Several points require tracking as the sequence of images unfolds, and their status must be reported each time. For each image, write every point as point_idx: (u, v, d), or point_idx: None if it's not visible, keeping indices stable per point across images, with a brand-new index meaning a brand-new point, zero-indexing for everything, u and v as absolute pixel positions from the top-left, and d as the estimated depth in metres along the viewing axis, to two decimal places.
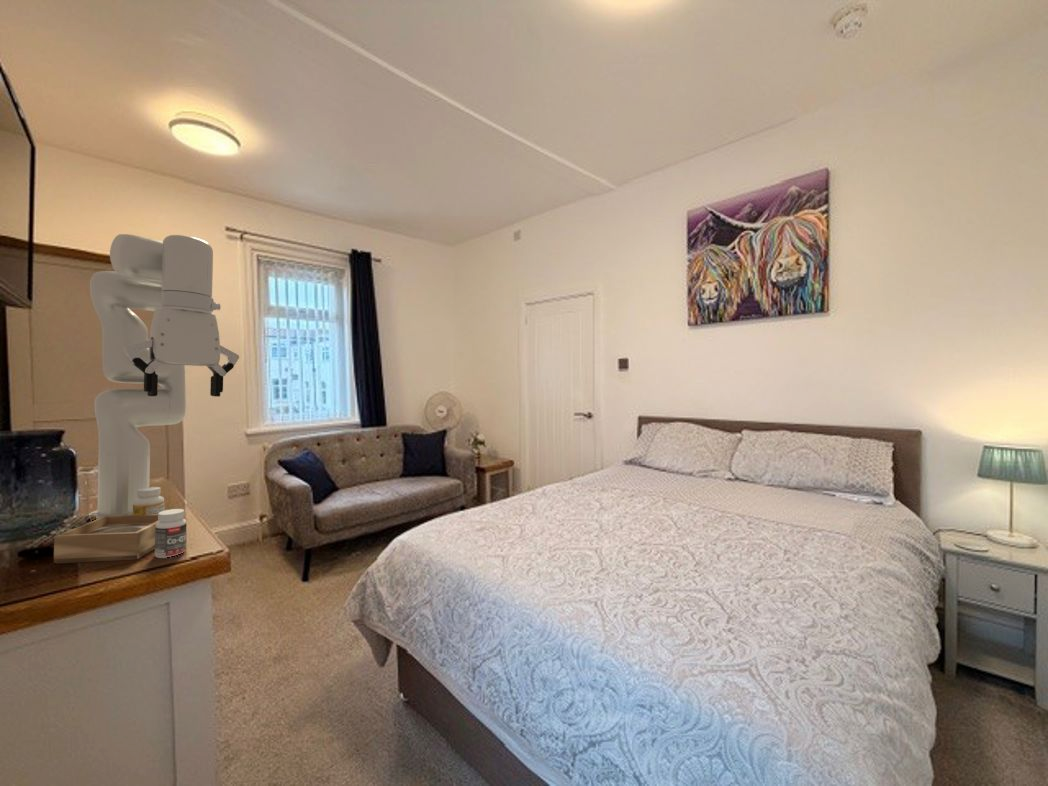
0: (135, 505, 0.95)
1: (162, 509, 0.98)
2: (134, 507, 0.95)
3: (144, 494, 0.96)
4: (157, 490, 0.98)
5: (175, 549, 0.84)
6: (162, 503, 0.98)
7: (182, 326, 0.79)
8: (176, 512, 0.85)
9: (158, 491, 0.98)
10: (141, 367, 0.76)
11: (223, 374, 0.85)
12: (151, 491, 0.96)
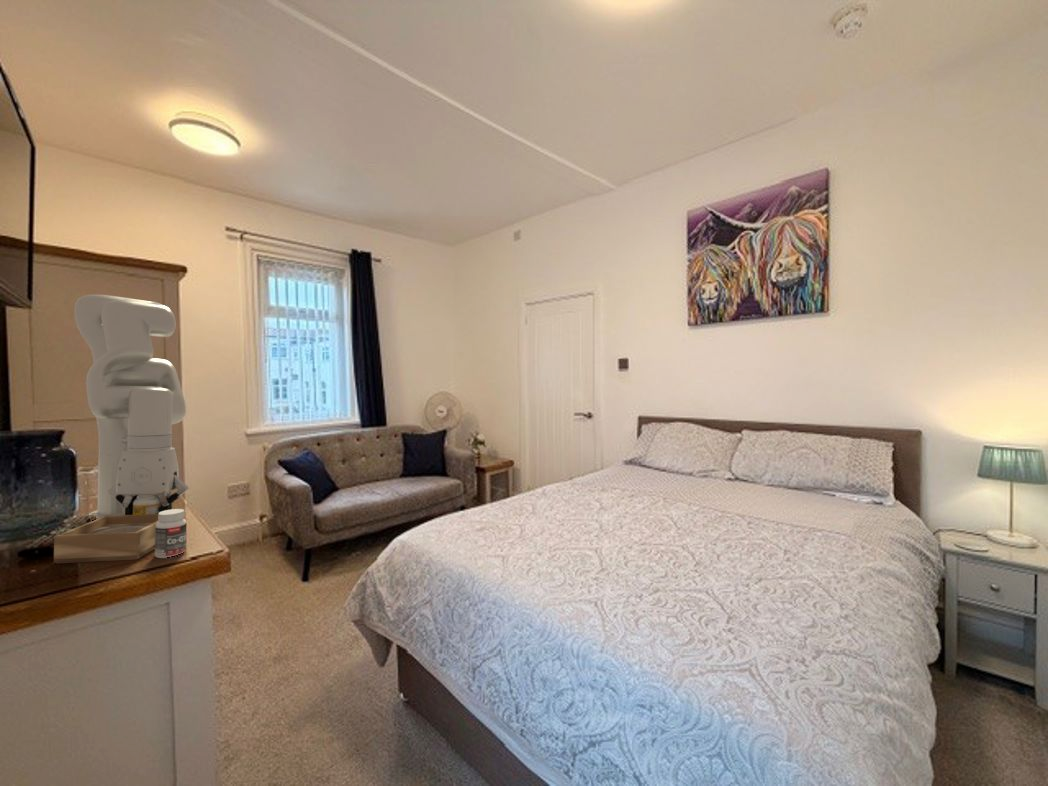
0: (135, 505, 0.95)
1: None
2: (134, 507, 0.95)
3: None
4: None
5: (175, 549, 0.84)
6: None
7: None
8: (176, 512, 0.85)
9: None
10: None
11: None
12: None
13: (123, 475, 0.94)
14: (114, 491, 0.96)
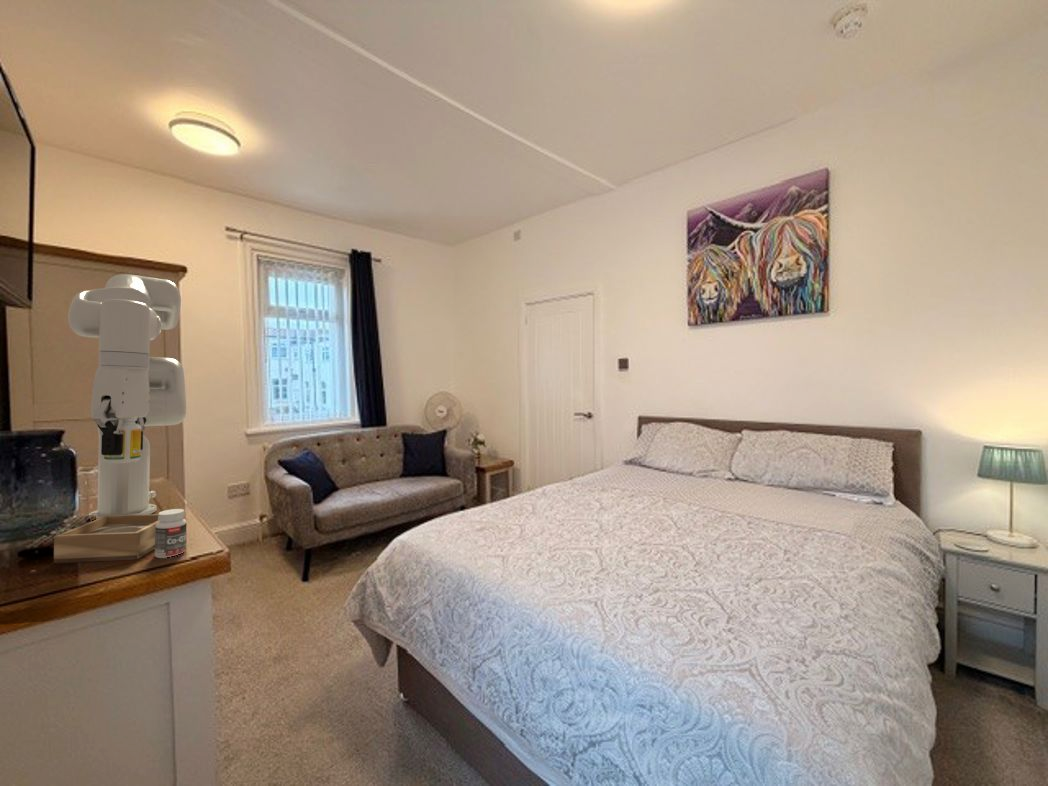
0: None
1: None
2: None
3: None
4: None
5: (175, 549, 0.84)
6: None
7: (134, 384, 0.86)
8: (176, 512, 0.85)
9: (115, 417, 0.85)
10: (111, 429, 0.83)
11: (142, 429, 0.91)
12: (110, 415, 0.86)
13: None
14: None
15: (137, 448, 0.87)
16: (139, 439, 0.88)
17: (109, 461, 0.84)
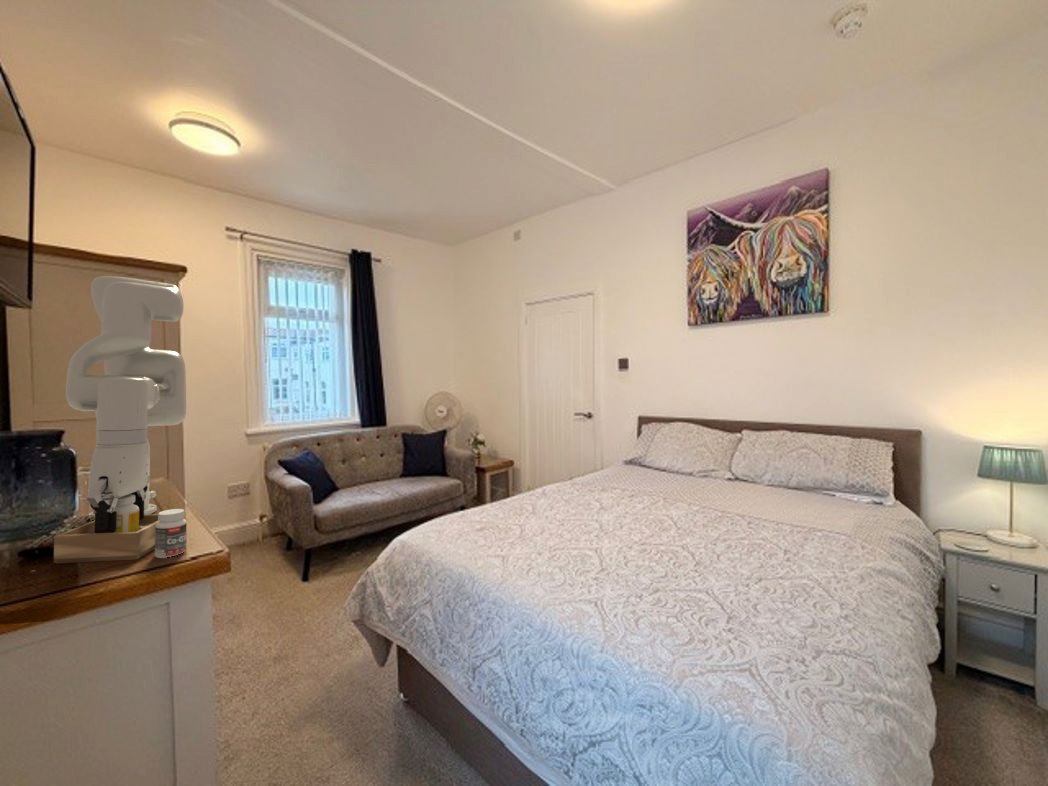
0: None
1: None
2: None
3: None
4: None
5: (175, 549, 0.84)
6: None
7: (132, 460, 0.86)
8: (176, 512, 0.85)
9: None
10: (104, 508, 0.82)
11: (143, 497, 0.92)
12: None
13: None
14: None
15: (135, 530, 0.88)
16: (137, 521, 0.88)
17: None
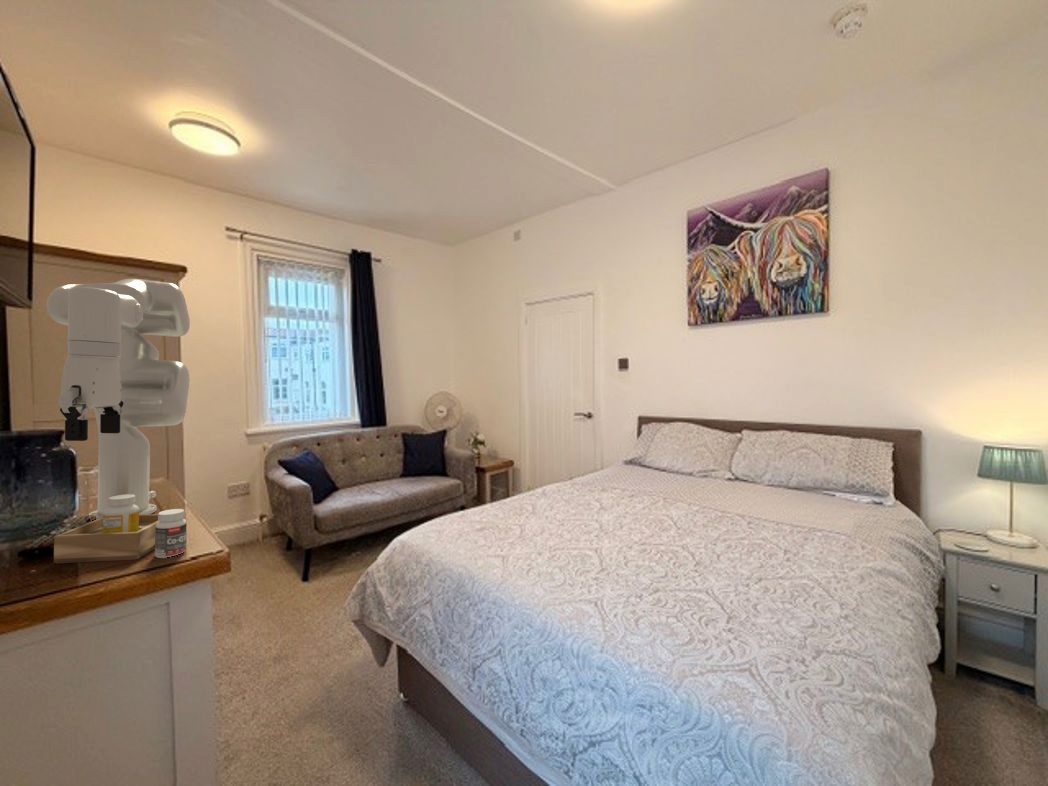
0: None
1: (111, 524, 0.85)
2: None
3: None
4: (112, 500, 0.85)
5: (175, 549, 0.84)
6: (110, 517, 0.85)
7: (105, 373, 0.86)
8: (176, 512, 0.85)
9: (113, 502, 0.85)
10: (75, 415, 0.81)
11: (119, 412, 0.93)
12: (108, 499, 0.86)
13: None
14: None
15: (135, 530, 0.88)
16: (137, 521, 0.88)
17: None
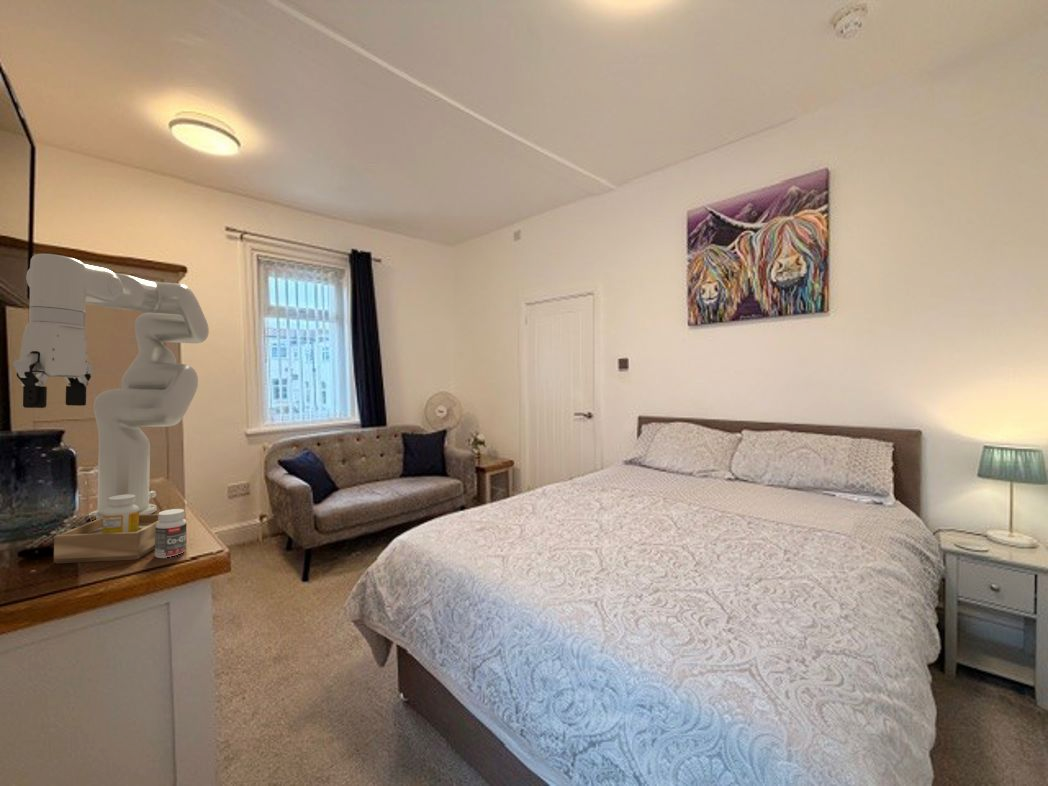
0: None
1: (111, 524, 0.85)
2: None
3: None
4: (112, 500, 0.85)
5: (175, 549, 0.84)
6: (110, 517, 0.85)
7: (67, 341, 0.85)
8: (176, 512, 0.85)
9: (113, 502, 0.85)
10: (32, 380, 0.79)
11: (86, 384, 0.92)
12: (108, 499, 0.86)
13: None
14: None
15: (135, 530, 0.88)
16: (137, 521, 0.88)
17: None
